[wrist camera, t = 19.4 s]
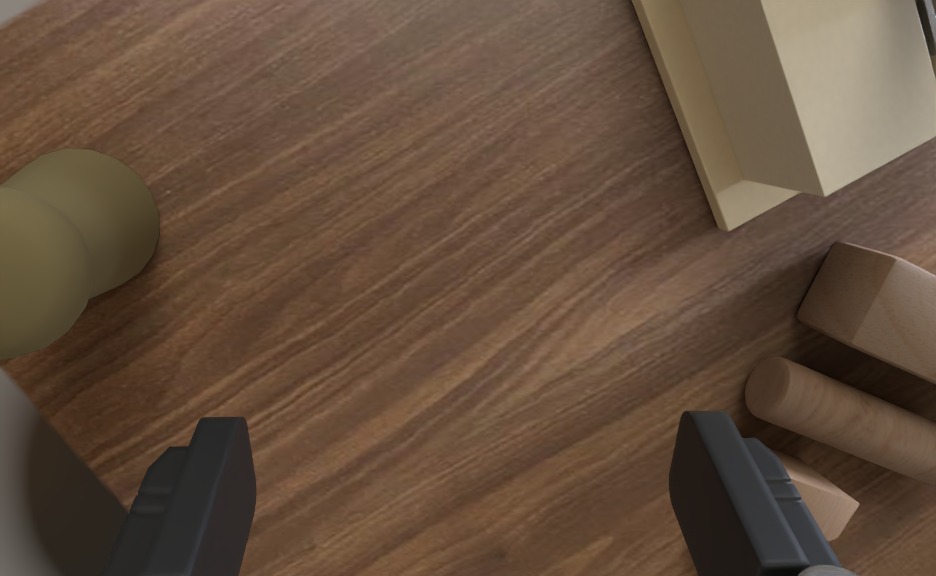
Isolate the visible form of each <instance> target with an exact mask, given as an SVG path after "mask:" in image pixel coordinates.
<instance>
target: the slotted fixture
mask: <svg viewBox="0 0 936 576" xmlns="http://www.w3.org/2000/svg"><path fill="white" fill-rule="evenodd" d="M632 3H633V5H634V8H635V10H636V13H637V16H638V18H639V21H640V23H641V26H642V29H643V31H644V34H645V37H646V39H647V42H648V44H649V47H650V50H651V52H652V55H653V58H654V60H655V63H656V65H657V68H658V71H659V73H660V76H661V79H662V81H663V84H664V86H665V89H666V92H667V94H668V97H669V100H670V102H671V105H672V107H673V110H674V113H675V115H676V118H677V121H678V123H679V126H680V128H681V131H682V134H683V136H684V139H685V142H686V144H687V147H688V149H689V152H690V155H691V157H692V160H693V162H694V165H695V168H696V170H697V173H698V176H699V178H700V181H701V183H702V186H703V189H704V191H705V194H706V197H707V199H708V202H709V204H710V207H711V210H712V212H713V215H714V218H715V220H716V223H717V225H718V228H719V229H722V230H725V231H731V230H733V229H735V228H736V227H738V226H740V225H742V224H744V223H746V222H747V221H749V220H751V219H753V218H755V217H757V216H758V215H760V214H762V213H764V212H766V211H768V210H769V209H771V208H773V207H775V206H777V205H779V204H780V203H782V202H784V201H786V200H788V199H790V198H791V197H793V196H795V195H797V194H799V193H801V192H803V193H808V194H812V195H817V196H822V197H826V196H828V195H830V194H831V193H833V192H835V191H837V190H839V189H841V188H842V187H844V186H846V185H848V184H850V183H852V182H853V181H855V180H857V179H859V178H861V177H862V176H864V175H866V174H868V173H870V172H872V171H873V170H875V169H877V168H879V167H881V166H883V165H884V164H886V163H888V162H890V161H892V160H894V159H895V158H897V157H899V156H901V155H903V154H905V153H906V152H908V151H910V150H912V149H914V148H915V147H917V146H919V145H921V144H923V143H925V142H926V141H928V140H930V139H932V138H934V137H936V56H929V52H928V49H927V45H926V41H925V37H924V33H923V29H922V26H921V22H920V18H919V14H918V10H917V6H916V3H915V0H632ZM932 4H933V8H934V12H935V16H936V0H932Z"/></svg>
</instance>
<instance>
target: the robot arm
mask: <svg viewBox="0 0 936 576" xmlns="http://www.w3.org/2000/svg"><path fill="white" fill-rule="evenodd" d="M669 491H670V498H671V503H672V506H673V509H674V512H675V515H676V517H677V520H678V522H679V525H680V528H681V530H682V533H683V536H684V538H685V541H686V544H687V546H688V549H689V552H690V554H691V557H692V560H693V562H694V565H695V567H696V570H697V573H698V575H699V576H860V575H858V574H856V573H854V572H852V571H849V570H847V569H844V568H843V567H842V566H841V564H840V562H839V560H838V559H837V557H836V555H835V554H834V552H833V550H832V548H831V547H830V545H829V543H828V542H827V540H826V538H825V536H824V535H823V533H822V531H821V530H820V528H819V526H818V524H817V523H816V521H815V519H814V518H813V516H812V514H811V512H810V511H809V509H808V507H807V505H806V504H805V502H802V500H801V495H800V493H799V492H798V490H797V488H796V487H795V485H794V483H791V478H790V476H789V475H788V473H787V471H786V469H785V468H784V466H783V464H782V463H781V461H780V459H779V457H778V456H776V455H775V454H774V453H773V452H772V451H771V450H769V449H768V448H767V447H766V446H765V445H764V444H763V443H761V442H760V441H759V440H758V439H757V438H742V437H741V435H740V433H739V432H738V430H737V428H736V426H735V424H734V422H733V420H732V419H731V417H730V415H729V414H728V413H727V412H726V411H685V412H684V413H683V414H682V416H681V419H680V423H679V428H678V433H677V438H676V443H675V448H674V453H673V458H672V463H671V468H670V474H669ZM255 505H256V478H255V472H254V465H253V459H252V452H251V446H250V440H249V433H248V427H247V422H246V420H245V418H244V417H203V418H201V419H200V420H199V422H198V424H197V427H196V429H195V432H194V434H193V437H192V439H191V442H190V444H189V446H185V447H169V448H168V449H167V450H166V451H165V452H164V453H163V454H162V455H161V456H160V457H159V458H158V459H157V460H156V461H155V462H154V463H153V464H152V465H151V466H150V467H149V468H148V470H147V472H146V475H145V477H144V479H143V481H142V484H141V486H140V488H139V490H138V495H136V497H135V499H134V502H133V504H132V506H131V508H130V514H129V515H127V517H126V520H125V522H124V524H123V526H122V529H121V531H120V533H119V535H118V538H117V540H116V542H115V544H114V547H113V549H112V551H111V553H110V556H109V558H108V560H107V562H106V565H105V567H104V569H103V571H102V573H101V576H238V575H239V571H240V567H241V563H242V559H243V556H244V552H245V548H246V544H247V540H248V536H249V532H250V528H251V524H252V520H253V516H254V512H255Z"/></svg>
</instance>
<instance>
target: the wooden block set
mask: <svg viewBox="0 0 936 576" xmlns="http://www.w3.org/2000/svg"><path fill="white" fill-rule="evenodd" d="M796 317H797V318H798V320H799V321H800V322H801V323H802V324H804V325H806V326H808V327H810V328H812V329H814V330H817V331H819V332H821V333H823V334H825V335H827V336H829V337H831V338H834V339H836V340H838V341H840V342H842V343H844V344H846V345H848V346H850V347H853V348H855V349H857V350H859V351H862V352H864V353H866V354H868V355H871V356H873V357H875V358H877V359H880V360H882V361H884V362H886V363H889V364H891V365H893V366H895V367H898V368H900V369H902V370H904V371H907V372H909V373H911V374H913V375H916V376H918V377H920V378H922V379H925V380H927V381H929V382H931V383H934V384H936V275H934V274H932V273H930V272H928V271H926V270H924V269H922V268H920V267H918V266H916V265H914V264H912V263H910V262H908V261H906V260H904V259H902V258H900V257H898V256H894V255H890V254H887V253H883V252H880V251H876V250H873V249H869V248H866V247H862V246H859V245H855V244H852V243H848V242H835V243H834V244H833V245H832V246H831V248H830V250H829V251H828V253H827V255H826V257H825V259H824V261H823V263H822V265H821V267H820V269H819V271H818V272H817V274H816V276H815V278H814V280H813V282H812V284H811V286H810V288H809V290H808V292H807V293H806V295H805V297H804V299H803V301H802V303H801V305H800V307H799V309H798V311H797V315H796ZM745 402H746V405H747V408H748V409H749V411H750V412H751V413H752V414H753V415H754V416H755V417H757V418H759V419H762V420H765V421H767V422H770V423H772V424H775V425H777V426H780V427H782V428H785V429H787V430H790V431H793V432H795V433H798V434H800V435H803V436H805V437H808V438H810V439H813V440H816V441H818V442H821V443H823V444H826V445H828V446H831V447H833V448H836V449H838V450H841V451H844V452H846V453H849V454H851V455H854V456H856V457H859V458H861V459H864V460H866V461H869V462H872V463H874V464H877V465H879V466H882V467H884V468H887V469H889V470H892V471H895V472H897V473H900V474H902V475H905V476H907V477H910V478H912V479H915V480H917V481H920V482H923V483H925V484H929V485H936V422H934V421H931V420H929V419H926V418H924V417H922V416H919V415H917V414H915V413H912V412H910V411H908V410H905V409H903V408H901V407H898V406H896V405H894V404H891V403H889V402H887V401H884V400H882V399H880V398H877V397H875V396H872V395H870V394H868V393H865V392H863V391H861V390H858V389H856V388H854V387H851V386H849V385H847V384H844V383H842V382H840V381H837V380H835V379H833V378H830V377H828V376H826V375H823V374H821V373H818V372H816V371H814V370H811V369H809V368H807V367H804V366H802V365H800V364H797V363H795V362H793V361H790V360H788V359H786V358H783V357H779V356H778V357H770V358H767V359H765V360H763V361H761V362H760V363H759V364H758V365H757V366H756V367H755V368H754V370H753V371H752V373H751V374H750V376H749V379H748V381H747V384H746V389H745ZM767 448H768V449H769V450H771V451H772V452H773V453H774V454H775V455H776V456H778V457H779V459H780V461H781V463H782V464H783V466H784V468H785V469H786V471H787V473H788V475H789V476H790V478H791V483H794V485H795V487H796V488H797V490H798V492H799V493H800V495H801V500H802V502H805V504H806V505H807V507H808V509H809V511H810V512H811V514H812V516H813V518H814V519H815V521H816V523H817V524H818V526H819V528H820V530H821V531H822V533H823V535H824V536H825V538H826V540H827V542H828V541H831V540H834V539H837V538H838V537H839V535H840V534H841V532H842V531H843V529H844V528H845V526H846V524H847V523H848V521H849V520H850V518H851V517H852V515H853V514H854V512H855V511H856V509H857V507H858V506H859V503H858V502H857V501H855V500H854V499H853V498H851V497H850V496H849V495H847V494H846V493H845V492H843V491H842V490H840V489H839V488H838V487H836V486H835V485H834V484H832V483H831V482H830V481H828V480H827V479H826V478H824V477H823V476H822V475H820V474H819V473H818V472H816V471H815V470H814V469H812V468H811V467H810V466H808V465H807V464H806V463H804V462H803V461H802V460H800V459H798V458H795V457H792V456H790V455H787V454H784V453H782V452H779V451H777V450H774V449H771V448H769V447H767Z"/></svg>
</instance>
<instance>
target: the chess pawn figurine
mask: <svg viewBox="0 0 936 576" xmlns="http://www.w3.org/2000/svg"><path fill="white" fill-rule="evenodd" d="M158 237H159V213H158V209H157V207H156V204H155V202H154V199H153V197H152V194H151V192H150V190H149V189H148V187H147V186H146V185H145V184H144V182H143V181H142V180H141V179H140V177H139V176H138V175H137V174H136V172H135V171H133V170H132V169H130V168H129V167H127V166H126V165H124V164H123V163H122V162H120V161H119V160H117V159H116V158H114V157H111V156H108V155H105V154H102V153H99V152H96V151H93V150H90V149H61V150H58V151H54V152H51V153H47V154H43V155H41V156H39V157H38V158H36V159H35V160H33V161H32V162H30V163H29V164H27V165H26V166H24V167H23V168H21V169H20V170H19V171H18V172H16V173H15V174H14V175H13V176H11V177H10V178H9V179H8V180H6V181H5V182H4V183H3V184H1V185H0V359H11V358H15V357H18V356H21V355H25V354H28V353H31V352H35V351H38V350H41V349H44V348H45V347H47V346H48V345H50V344H51V343H53V342H54V341H56V340H57V339H59V338H60V337H61V336H63V335H64V334H66V333H67V332H68V330H69V329H70V328H71V327H72V326H73V324H74V323H75V322H76V320H77V319H78V317H79V316H80V315H81V313H82V312H83V311H84V309H85V308H86V305H87V301H88V300H89V299H91V298H93V297H95V296H98V295H100V294H102V293H104V292H107V291H109V290H111V289H113V288H116V287H118V286H120V285H122V284H124V283H125V282H126V281H128V280H129V279H131V278H132V277H134V276H135V275H137V274H138V273H140V272H141V270H142V269H143V268H144V266H145V265H146V264H147V262H148V261H149V260H150V258H151V257H152V256H153V254H154V251H155V247H156V244H157V241H158Z"/></svg>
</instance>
